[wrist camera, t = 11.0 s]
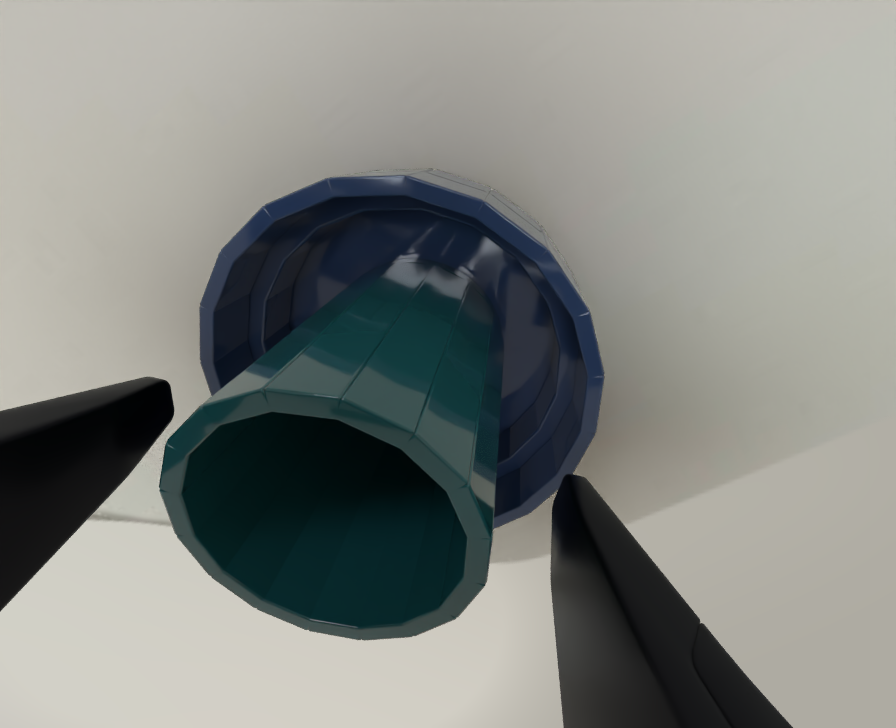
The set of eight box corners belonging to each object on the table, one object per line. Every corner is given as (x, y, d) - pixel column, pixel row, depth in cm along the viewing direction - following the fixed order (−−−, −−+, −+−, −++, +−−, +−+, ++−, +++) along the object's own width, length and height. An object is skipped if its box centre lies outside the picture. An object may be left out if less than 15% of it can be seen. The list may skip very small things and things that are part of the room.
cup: (524, 393, 14) (531, 629, 7) (378, 426, 16) (268, 648, 9) (471, 232, 12) (410, 345, 5) (309, 289, 14) (91, 436, 7)
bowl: (609, 428, 15) (636, 513, 12) (353, 477, 18) (314, 557, 15) (531, 106, 11) (538, 86, 8) (218, 237, 14) (118, 267, 10)
